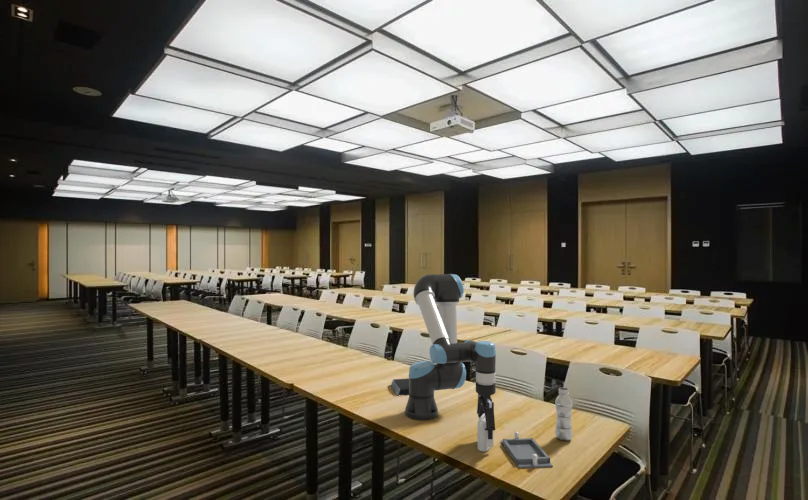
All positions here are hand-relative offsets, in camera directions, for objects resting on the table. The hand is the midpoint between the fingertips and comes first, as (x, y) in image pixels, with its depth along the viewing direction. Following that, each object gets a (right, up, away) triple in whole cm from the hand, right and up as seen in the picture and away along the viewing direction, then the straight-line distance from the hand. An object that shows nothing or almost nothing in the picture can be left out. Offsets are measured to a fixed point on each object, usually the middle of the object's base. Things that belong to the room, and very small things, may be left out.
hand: (485, 440), depth 158 cm
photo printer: (0, -2, 0) cm, 2 cm away
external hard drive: (-31, -4, +68) cm, 75 cm away
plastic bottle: (+33, -3, +6) cm, 33 cm away
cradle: (+14, -2, -6) cm, 15 cm away
